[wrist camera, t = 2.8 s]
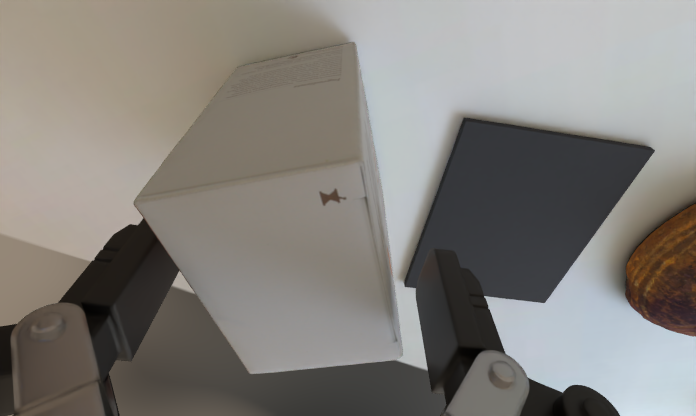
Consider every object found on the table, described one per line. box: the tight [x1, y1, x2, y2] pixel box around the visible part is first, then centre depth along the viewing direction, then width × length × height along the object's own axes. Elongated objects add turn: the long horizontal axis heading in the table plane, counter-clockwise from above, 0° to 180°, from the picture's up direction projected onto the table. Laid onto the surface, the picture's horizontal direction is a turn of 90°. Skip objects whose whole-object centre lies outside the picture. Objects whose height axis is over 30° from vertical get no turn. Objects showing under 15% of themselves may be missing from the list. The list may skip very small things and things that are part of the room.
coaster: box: [404, 118, 655, 303], centre depth 22 cm, size 10×12×1 cm
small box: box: [134, 42, 403, 374], centre depth 15 cm, size 8×6×10 cm
